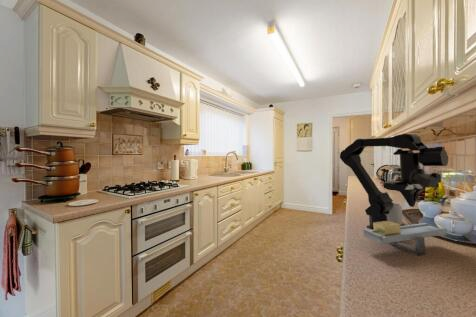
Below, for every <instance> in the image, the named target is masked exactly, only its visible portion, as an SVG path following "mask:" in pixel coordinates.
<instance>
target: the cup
mask: <svg viewBox="0 0 476 317" xmlns="http://www.w3.org/2000/svg"><path fill="white" fill-rule="evenodd" d="M393 205H394V206H393V209H392V210H390V212H389V214H386V216H387V220H388V221H391V222H394V223H397V224H400V226H403V208H402V206H403V205H402V204H400V203H395V202H393Z"/></svg>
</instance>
